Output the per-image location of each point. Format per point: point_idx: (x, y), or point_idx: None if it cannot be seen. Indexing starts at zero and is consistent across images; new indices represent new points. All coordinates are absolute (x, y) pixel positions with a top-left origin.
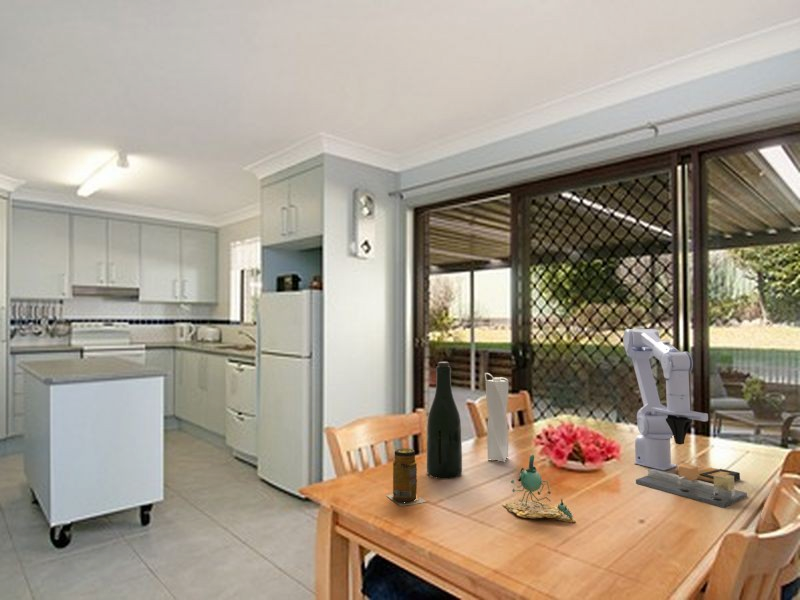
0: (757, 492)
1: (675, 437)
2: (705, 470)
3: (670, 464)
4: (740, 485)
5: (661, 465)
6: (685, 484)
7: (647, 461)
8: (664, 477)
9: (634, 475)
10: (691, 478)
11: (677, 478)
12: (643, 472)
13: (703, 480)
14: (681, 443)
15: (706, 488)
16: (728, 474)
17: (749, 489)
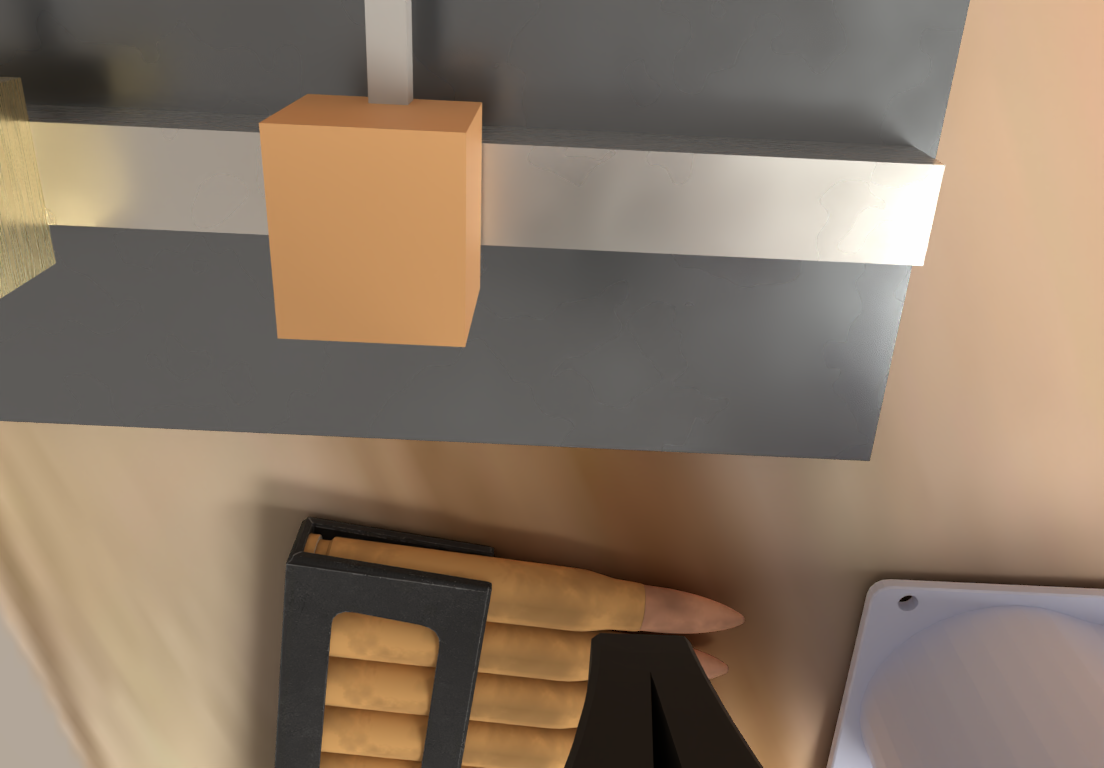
0: (19, 588)
1: (691, 710)
2: (520, 749)
3: (864, 735)
4: (205, 667)
5: (926, 645)
6: None
7: (1088, 640)
8: (699, 145)
9: (1094, 182)
10: (299, 101)
11: (522, 140)
12: (1037, 380)
13: (454, 547)
14: (589, 672)
15: (164, 119)
16: (298, 745)
17: (102, 618)
